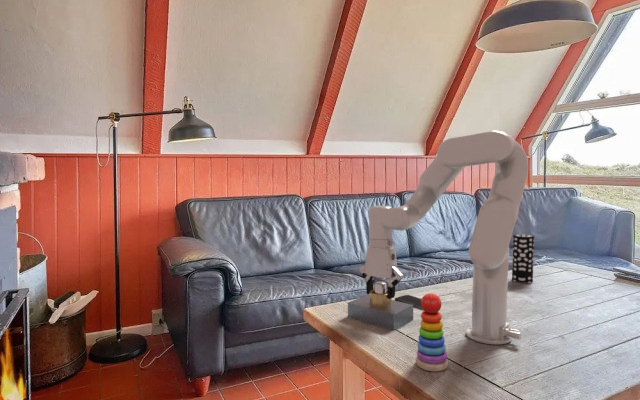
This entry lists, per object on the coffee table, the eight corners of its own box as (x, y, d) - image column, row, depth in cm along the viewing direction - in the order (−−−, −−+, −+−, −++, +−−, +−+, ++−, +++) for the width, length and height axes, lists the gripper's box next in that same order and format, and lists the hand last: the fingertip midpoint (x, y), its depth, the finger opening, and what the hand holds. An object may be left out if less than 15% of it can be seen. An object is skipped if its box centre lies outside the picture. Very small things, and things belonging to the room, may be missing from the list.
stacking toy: (424, 355, 116) (425, 287, 114) (453, 364, 111) (454, 292, 109) (410, 366, 110) (410, 294, 108) (440, 376, 105) (441, 300, 103)
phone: (407, 294, 168) (439, 304, 157) (407, 297, 169) (439, 307, 157) (393, 298, 164) (425, 308, 152) (393, 301, 164) (425, 311, 152)
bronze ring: (395, 303, 144) (395, 291, 144) (383, 308, 139) (383, 296, 139) (377, 299, 149) (377, 287, 149) (365, 304, 144) (365, 292, 143)
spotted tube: (507, 279, 193) (508, 234, 191) (522, 277, 195) (524, 233, 194) (521, 283, 185) (523, 237, 183) (537, 282, 187) (538, 236, 186)
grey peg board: (413, 319, 143) (413, 284, 142) (393, 330, 134) (394, 292, 133) (368, 308, 155) (368, 275, 154) (347, 317, 146) (347, 282, 145)
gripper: (409, 244, 139) (409, 298, 141) (365, 238, 151) (365, 288, 152) (397, 248, 134) (397, 303, 135) (352, 241, 145) (352, 293, 147)
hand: (380, 295), depth 144 cm, fingers open, 7 cm apart
